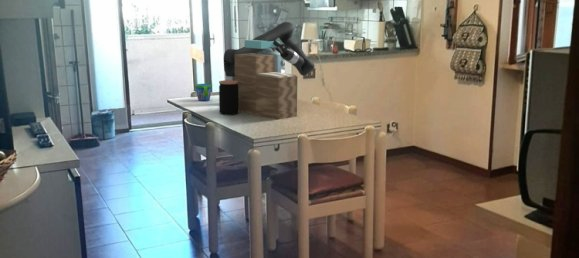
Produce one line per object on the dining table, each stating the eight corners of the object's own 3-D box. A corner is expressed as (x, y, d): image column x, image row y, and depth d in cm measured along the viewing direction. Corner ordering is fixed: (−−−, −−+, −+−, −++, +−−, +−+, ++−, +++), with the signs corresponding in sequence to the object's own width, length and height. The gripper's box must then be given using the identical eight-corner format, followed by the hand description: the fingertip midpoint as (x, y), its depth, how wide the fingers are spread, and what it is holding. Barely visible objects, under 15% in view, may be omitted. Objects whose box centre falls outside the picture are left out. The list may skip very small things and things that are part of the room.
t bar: (261, 48, 310) (261, 41, 309) (244, 47, 319) (244, 40, 318) (285, 47, 323) (286, 40, 322) (269, 45, 332) (269, 39, 332)
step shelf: (278, 119, 299) (278, 58, 293) (235, 110, 324) (234, 54, 318) (296, 116, 309) (297, 57, 302) (253, 107, 334) (253, 53, 327)
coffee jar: (241, 112, 318) (241, 80, 314) (233, 115, 308) (233, 83, 304) (224, 111, 321) (224, 79, 318) (216, 114, 311) (215, 82, 308)
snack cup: (194, 98, 365) (194, 83, 363) (211, 98, 367) (210, 82, 365) (196, 102, 350) (195, 86, 348) (213, 102, 353) (213, 85, 350)
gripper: (283, 49, 341) (265, 35, 329) (300, 50, 331) (282, 36, 319) (279, 60, 340) (260, 46, 328) (295, 62, 330) (277, 48, 318)
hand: (271, 41), depth 324 cm, fingers closed on t bar, 4 cm apart
